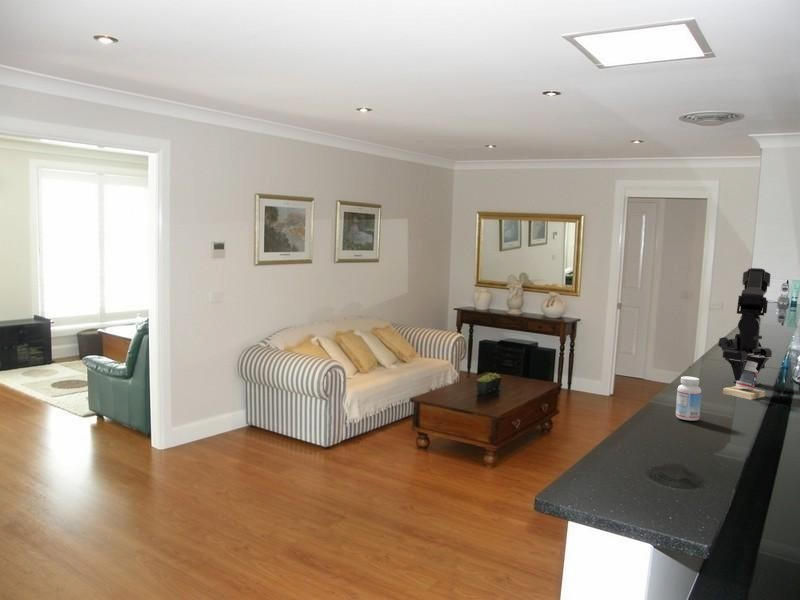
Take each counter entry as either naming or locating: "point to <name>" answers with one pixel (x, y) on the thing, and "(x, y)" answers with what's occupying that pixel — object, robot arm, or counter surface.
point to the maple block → (743, 392)
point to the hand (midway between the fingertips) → (745, 379)
